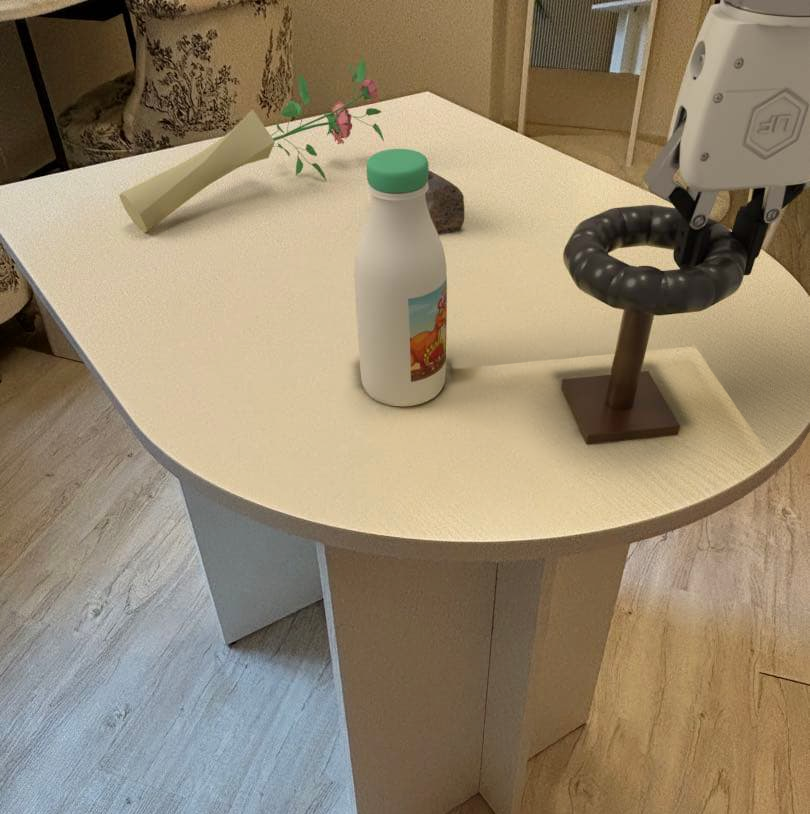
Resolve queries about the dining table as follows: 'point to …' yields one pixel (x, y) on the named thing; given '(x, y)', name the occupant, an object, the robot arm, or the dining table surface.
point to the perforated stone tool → (444, 204)
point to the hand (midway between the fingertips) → (712, 266)
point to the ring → (646, 285)
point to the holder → (622, 392)
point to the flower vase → (236, 156)
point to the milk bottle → (400, 285)
